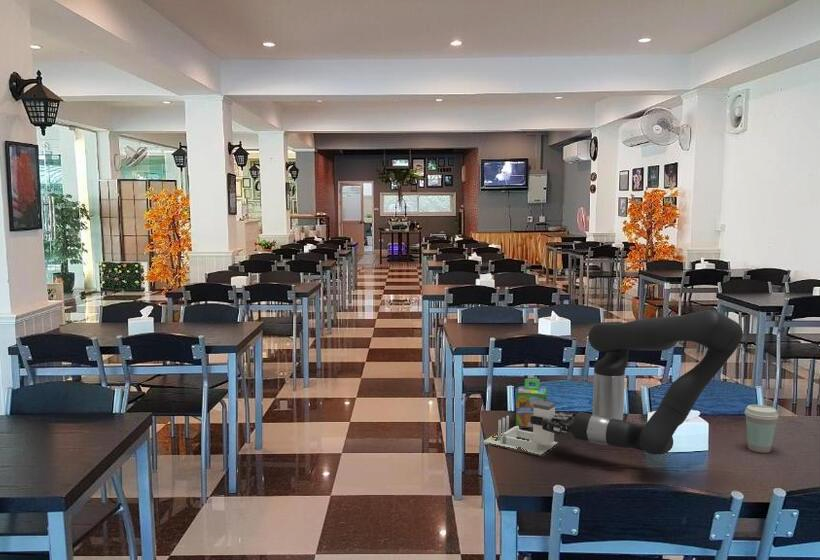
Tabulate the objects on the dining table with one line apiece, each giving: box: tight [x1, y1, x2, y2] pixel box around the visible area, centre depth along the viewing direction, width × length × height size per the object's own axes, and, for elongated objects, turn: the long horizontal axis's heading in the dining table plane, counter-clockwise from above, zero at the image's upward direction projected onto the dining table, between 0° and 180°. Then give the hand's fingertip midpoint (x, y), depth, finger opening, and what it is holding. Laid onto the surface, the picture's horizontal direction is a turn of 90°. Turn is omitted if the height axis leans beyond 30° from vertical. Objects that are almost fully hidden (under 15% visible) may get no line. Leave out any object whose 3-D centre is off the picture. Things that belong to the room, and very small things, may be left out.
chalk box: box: [515, 378, 548, 427], centre depth 210 cm, size 9×9×15 cm
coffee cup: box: [744, 404, 779, 454], centre depth 190 cm, size 8×8×12 cm
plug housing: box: [532, 400, 556, 445], centre depth 189 cm, size 4×4×11 cm
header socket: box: [482, 415, 559, 455], centre depth 193 cm, size 12×18×7 cm, turn 55°
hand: (535, 417), depth 190 cm, fingers closed on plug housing, 4 cm apart
